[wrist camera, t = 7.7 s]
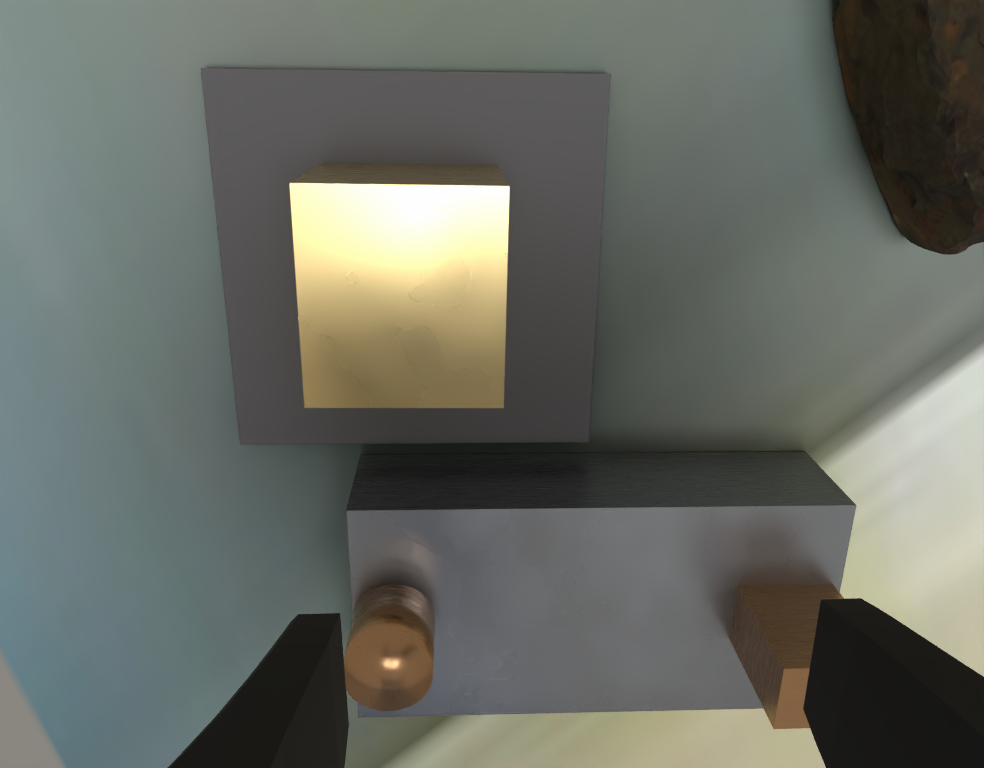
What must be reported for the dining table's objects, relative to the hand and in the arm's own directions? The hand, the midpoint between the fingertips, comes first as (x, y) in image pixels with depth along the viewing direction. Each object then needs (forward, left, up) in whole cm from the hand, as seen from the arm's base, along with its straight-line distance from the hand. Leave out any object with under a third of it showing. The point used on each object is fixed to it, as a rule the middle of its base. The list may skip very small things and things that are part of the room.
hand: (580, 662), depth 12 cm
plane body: (-4, -2, -10) cm, 11 cm away
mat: (+4, +3, -10) cm, 11 cm away
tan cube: (+4, +3, -9) cm, 11 cm away
